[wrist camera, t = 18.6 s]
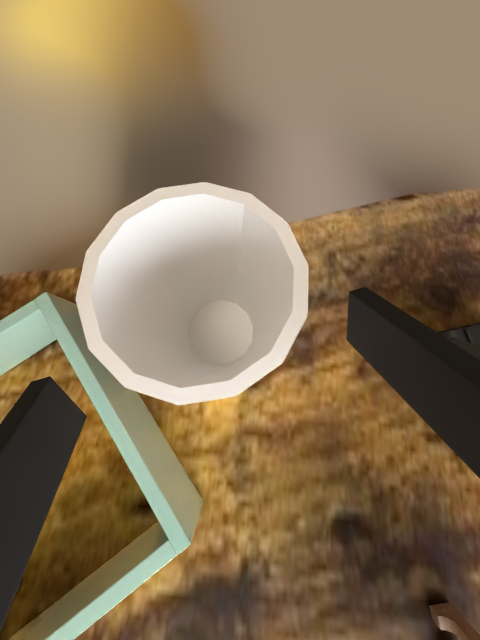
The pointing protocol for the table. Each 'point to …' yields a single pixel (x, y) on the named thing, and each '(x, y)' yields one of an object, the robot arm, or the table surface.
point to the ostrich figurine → (452, 621)
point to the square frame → (139, 454)
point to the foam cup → (193, 293)
